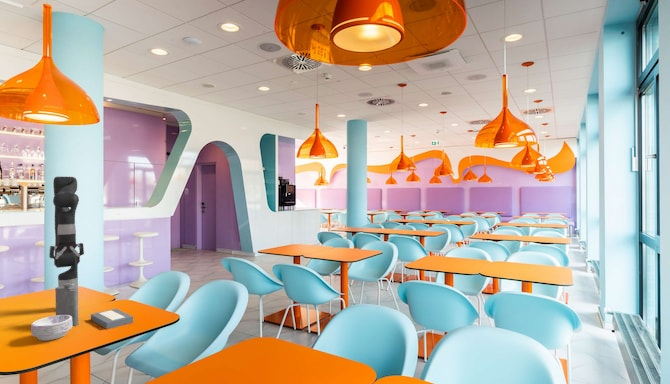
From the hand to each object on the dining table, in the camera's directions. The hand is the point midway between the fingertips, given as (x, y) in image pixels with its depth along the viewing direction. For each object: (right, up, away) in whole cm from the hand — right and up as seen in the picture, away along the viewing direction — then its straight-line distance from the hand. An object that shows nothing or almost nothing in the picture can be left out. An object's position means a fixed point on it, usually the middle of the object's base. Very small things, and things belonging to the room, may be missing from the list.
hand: (67, 265), depth 195 cm
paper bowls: (+7, -30, -19) cm, 36 cm away
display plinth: (+22, -29, +2) cm, 36 cm away
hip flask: (0, -30, 0) cm, 30 cm away
